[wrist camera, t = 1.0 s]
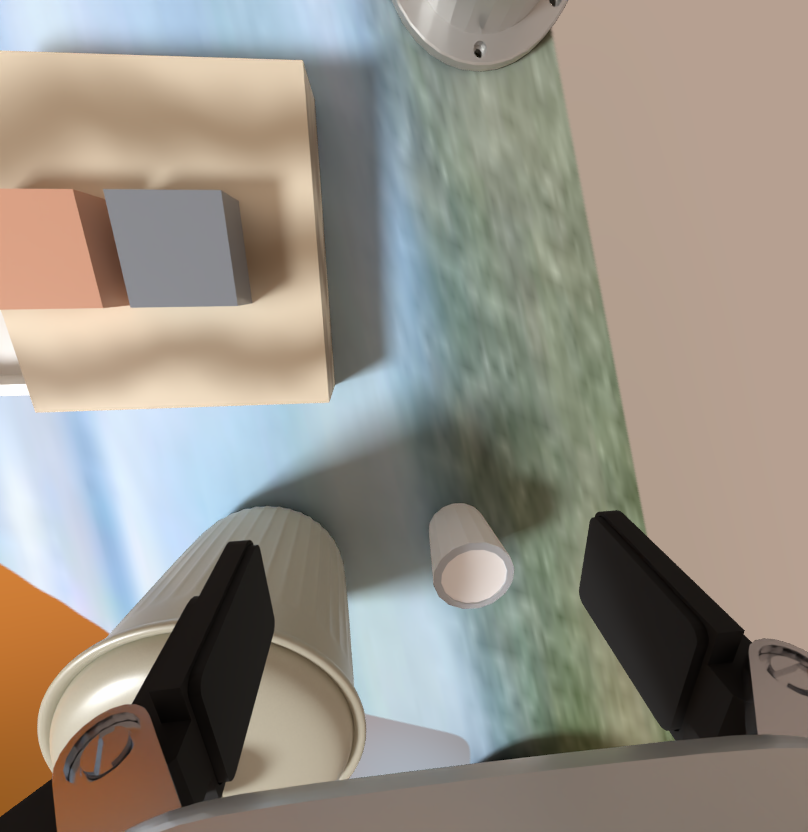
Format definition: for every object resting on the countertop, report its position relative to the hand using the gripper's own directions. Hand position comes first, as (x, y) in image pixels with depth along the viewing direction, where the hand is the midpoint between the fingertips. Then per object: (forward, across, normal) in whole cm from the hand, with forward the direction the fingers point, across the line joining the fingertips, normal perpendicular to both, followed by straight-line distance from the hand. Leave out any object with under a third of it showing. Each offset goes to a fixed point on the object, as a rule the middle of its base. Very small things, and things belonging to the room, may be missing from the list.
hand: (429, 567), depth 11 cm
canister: (+23, +12, +18) cm, 32 cm away
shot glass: (+23, -6, +16) cm, 29 cm away
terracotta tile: (+19, +20, -10) cm, 29 cm away
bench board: (+24, +14, -9) cm, 29 cm away
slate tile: (+19, +12, -9) cm, 24 cm away
